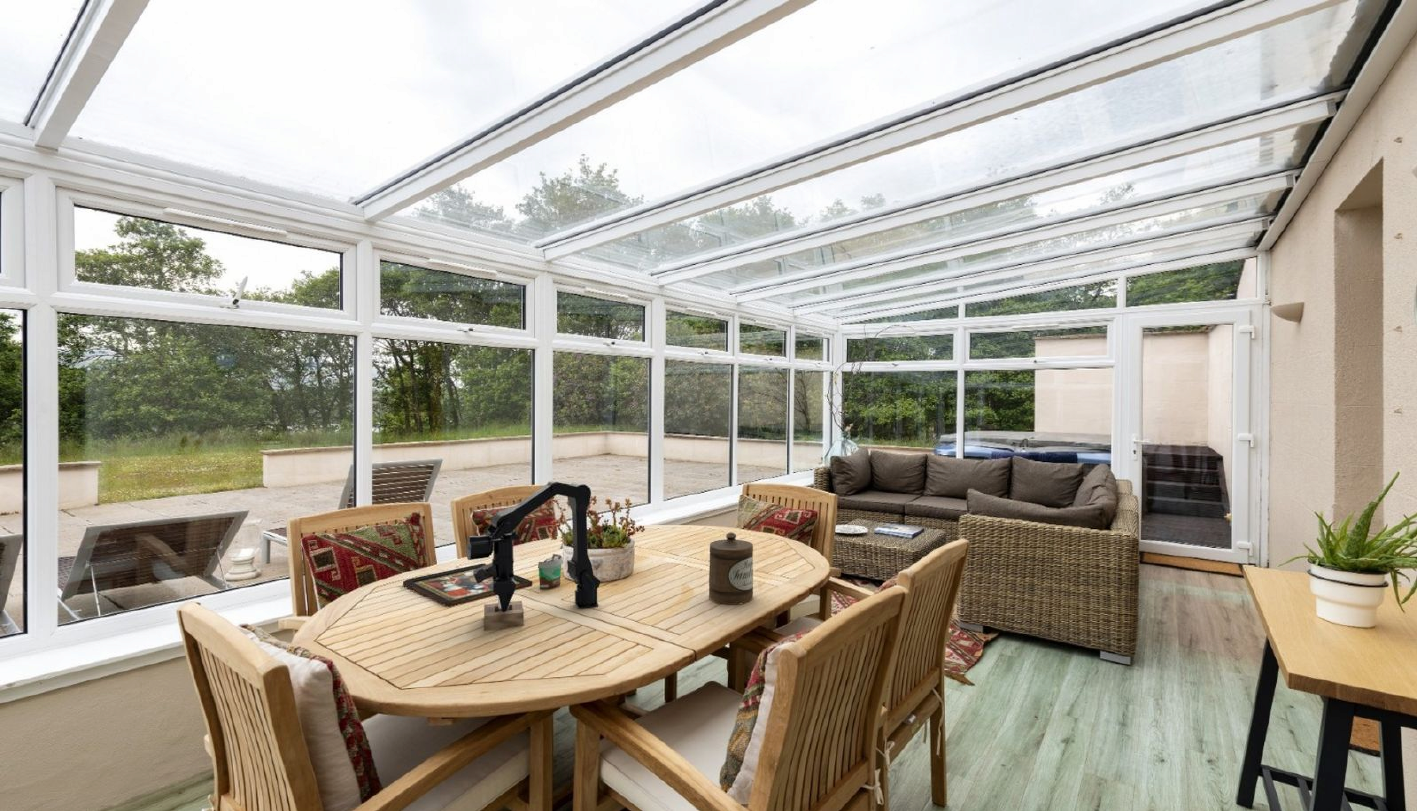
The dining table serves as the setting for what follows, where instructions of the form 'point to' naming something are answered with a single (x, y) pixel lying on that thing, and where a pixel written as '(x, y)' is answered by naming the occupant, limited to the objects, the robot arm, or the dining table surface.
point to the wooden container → (731, 571)
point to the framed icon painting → (457, 586)
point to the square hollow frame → (503, 616)
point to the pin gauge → (500, 606)
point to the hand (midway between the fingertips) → (503, 606)
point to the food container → (550, 572)
